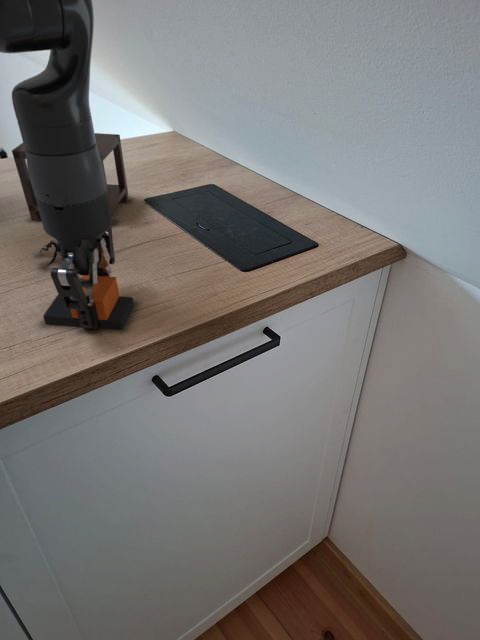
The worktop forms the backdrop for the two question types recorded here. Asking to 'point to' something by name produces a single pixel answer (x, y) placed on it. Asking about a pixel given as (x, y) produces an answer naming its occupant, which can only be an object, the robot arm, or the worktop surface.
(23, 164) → the rack
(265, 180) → the worktop surface
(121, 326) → the orange cube on base
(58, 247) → the creature
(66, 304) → the robot arm
